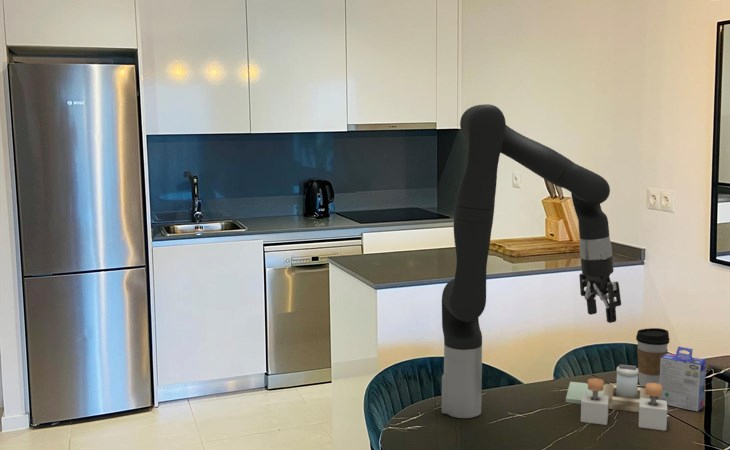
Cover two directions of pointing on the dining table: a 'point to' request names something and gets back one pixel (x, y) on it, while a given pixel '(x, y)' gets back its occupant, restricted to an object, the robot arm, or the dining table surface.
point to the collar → (623, 399)
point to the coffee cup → (651, 353)
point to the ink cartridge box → (683, 380)
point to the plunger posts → (647, 413)
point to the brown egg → (653, 391)
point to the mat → (578, 392)
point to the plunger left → (595, 386)
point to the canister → (627, 381)
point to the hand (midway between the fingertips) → (601, 317)
